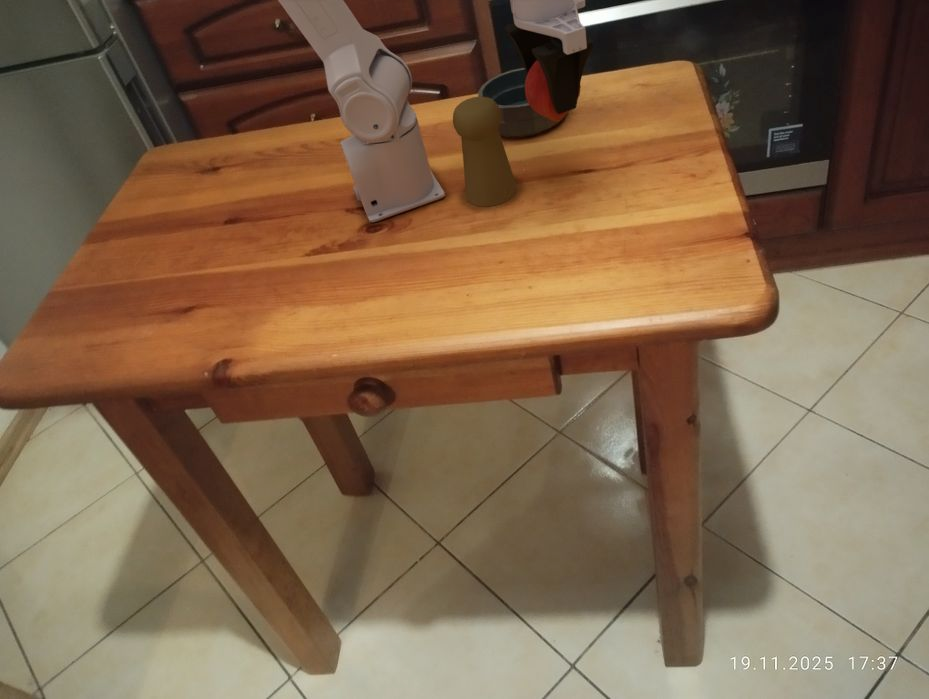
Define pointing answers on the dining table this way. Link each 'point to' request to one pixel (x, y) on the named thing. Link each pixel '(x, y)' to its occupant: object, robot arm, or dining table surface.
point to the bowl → (514, 105)
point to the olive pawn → (483, 152)
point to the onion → (540, 93)
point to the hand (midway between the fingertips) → (554, 99)
